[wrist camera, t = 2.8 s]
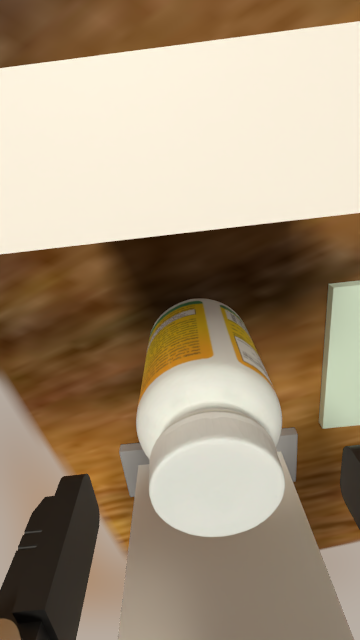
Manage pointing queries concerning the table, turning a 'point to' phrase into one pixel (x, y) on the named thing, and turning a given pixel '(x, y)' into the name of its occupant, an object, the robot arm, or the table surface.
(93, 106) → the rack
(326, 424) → the pad
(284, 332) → the table surface
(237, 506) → the supplement bottle
